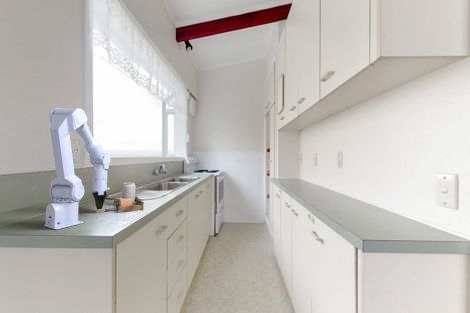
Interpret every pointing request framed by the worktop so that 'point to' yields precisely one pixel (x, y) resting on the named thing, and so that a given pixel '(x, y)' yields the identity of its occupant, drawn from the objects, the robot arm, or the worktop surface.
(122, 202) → the grey rod with ends
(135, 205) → the lane organiser
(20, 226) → the worktop surface
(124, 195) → the beverage can
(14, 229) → the worktop surface
